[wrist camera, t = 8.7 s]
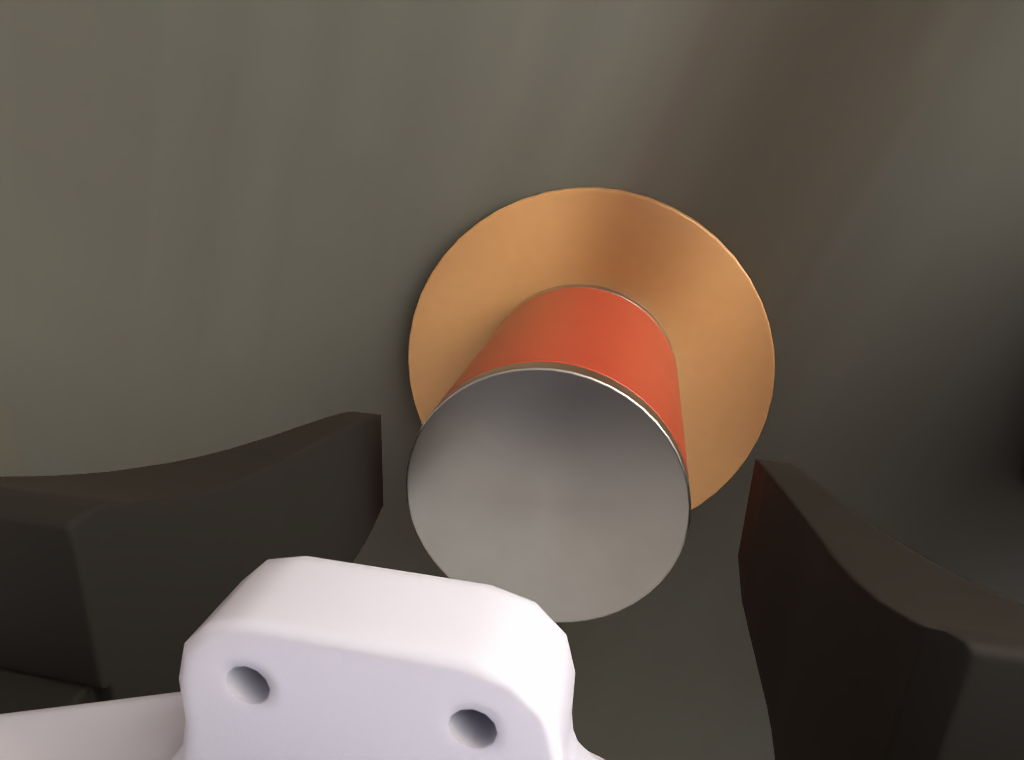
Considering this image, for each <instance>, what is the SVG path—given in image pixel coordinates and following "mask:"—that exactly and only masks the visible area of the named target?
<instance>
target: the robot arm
mask: <svg viewBox="0 0 1024 760" xmlns="http://www.w3.org/2000/svg"><path fill="white" fill-rule="evenodd" d="M382 507H383V477H382V440H381V415H376V414H368V413H360V412H347V413H341V414H337V415H334V416H330V417H327V418H324V419H321V420H318V421H315V422H312V423H309V424H306V425H303V426H300V427H297V428H294V429H291V430H288V431H285V432H282V433H280V434H277V435H274V436H271V437H267V438H264V439H261V440H258V441H254V442H251V443H248V444H245V445H241V446H238V447H235V448H231V449H228V450H224V451H221V452H217V453H213V454H209V455H205V456H200V457H196V458H191V459H186V460H182V461H177V462H172V463H166V464H160V465H153V466H146V467H139V468H132V469H126V470H119V471H110V472H100V473H89V474H75V475H59V476H30V477H0V760H605V759H603V758H601V757H599V756H597V755H595V754H593V753H591V752H589V751H587V750H586V749H585V748H584V747H583V746H582V745H581V744H580V743H579V742H578V741H577V738H576V736H575V733H574V731H573V723H572V703H573V692H574V681H575V670H574V665H573V661H572V657H571V652H570V648H569V644H568V639H567V635H566V634H565V633H564V632H563V631H562V630H561V629H560V628H559V626H558V625H557V624H556V623H555V622H554V621H553V620H552V619H551V618H550V617H549V616H548V615H547V614H546V613H545V612H544V611H543V610H542V609H541V607H540V606H539V605H538V604H537V603H536V602H534V601H531V600H528V599H526V598H523V597H521V596H518V595H516V594H513V593H511V592H508V591H505V590H503V589H500V588H498V587H495V586H493V585H488V584H482V583H475V582H469V581H463V580H456V579H450V578H444V577H437V576H431V575H425V574H418V573H412V572H406V571H399V570H393V569H386V568H380V567H374V566H367V565H361V564H355V563H352V561H353V560H354V558H355V557H356V556H357V554H358V553H359V551H360V550H361V548H362V547H363V545H364V544H365V542H366V540H367V538H368V536H369V534H370V532H371V530H372V528H373V526H374V524H375V522H376V520H377V518H378V515H379V513H380V511H381V509H382ZM738 559H739V572H740V584H741V595H742V603H743V607H744V612H745V616H746V620H747V625H748V629H749V633H750V638H751V642H752V646H753V650H754V654H755V658H756V662H757V667H758V671H759V675H760V679H761V683H762V687H763V691H764V696H765V700H766V704H767V709H768V714H769V719H770V725H771V730H772V738H773V746H774V754H775V760H1024V605H1021V604H1019V603H1016V602H1014V601H1011V600H1009V599H1007V598H1005V597H1002V596H1000V595H998V594H996V593H994V592H991V591H989V590H987V589H985V588H983V587H980V586H978V585H976V584H974V583H972V582H970V581H967V580H966V579H964V578H962V577H960V576H958V575H956V574H954V573H952V572H950V571H948V570H946V569H944V568H942V567H940V566H939V565H937V564H935V563H933V562H932V561H930V560H928V559H926V558H924V557H923V556H921V555H919V554H917V553H915V552H914V551H912V550H910V549H909V548H907V547H906V546H904V545H902V544H901V543H899V542H898V541H896V540H895V539H893V538H892V537H890V536H889V535H887V534H886V533H884V532H883V531H881V530H880V529H878V528H877V527H875V526H874V525H872V524H871V523H869V522H868V521H867V520H865V519H864V518H863V517H861V516H860V515H858V514H857V513H856V512H854V511H853V510H852V509H850V508H849V507H848V506H846V505H845V504H844V503H843V502H841V501H840V500H839V499H837V498H836V497H835V496H834V495H832V494H831V493H830V492H828V491H827V490H826V489H825V488H823V487H822V486H821V485H820V484H818V483H817V482H816V481H815V480H813V479H812V478H811V477H809V476H808V475H807V474H806V473H804V472H803V471H802V470H800V469H799V468H797V467H796V466H794V465H792V464H790V463H781V462H773V461H764V460H755V465H754V471H753V476H752V482H751V487H750V493H749V499H748V504H747V510H746V515H745V521H744V526H743V532H742V537H741V543H740V549H739V554H738Z"/></svg>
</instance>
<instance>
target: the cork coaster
mask: <svg viewBox="0 0 1024 760" xmlns="http://www.w3.org/2000/svg"><path fill="white" fill-rule="evenodd" d="M570 284H590V285H597V286H602V287H606V288H609V289H613V290H615V291H618V292H620V293H622V294H625V295H626V296H628V297H630V298H632V299H633V300H635V301H637V302H638V303H639V304H640V305H642V306H643V307H644V308H646V309H647V310H648V311H649V312H650V313H651V314H652V315H653V316H654V317H655V318H656V320H657V321H658V322H659V324H660V325H661V326H662V328H663V329H664V331H665V333H666V335H667V336H668V338H669V340H670V343H671V345H672V348H673V350H674V354H675V358H676V363H677V371H678V381H679V390H680V399H681V409H682V418H683V428H684V437H685V447H686V456H687V466H688V475H689V485H690V496H691V510H692V509H694V508H696V507H697V506H699V505H700V504H701V503H703V502H704V501H705V500H707V499H708V498H709V497H711V496H712V495H714V494H715V493H716V492H717V491H718V490H719V489H720V488H721V487H722V486H723V485H724V484H725V483H726V482H727V481H729V480H730V479H731V478H732V476H733V475H734V474H735V473H736V471H737V470H738V469H739V468H740V466H741V465H742V464H743V463H744V461H745V460H746V459H747V457H748V455H749V454H750V452H751V450H752V449H753V447H754V445H755V443H756V442H757V440H758V438H759V435H760V433H761V431H762V428H763V426H764V423H765V421H766V419H767V415H768V411H769V407H770V403H771V399H772V395H773V385H774V376H775V362H774V346H773V340H772V335H771V330H770V324H769V321H768V318H767V315H766V313H765V310H764V307H763V304H762V301H761V299H760V297H759V295H758V293H757V291H756V289H755V287H754V285H753V283H752V281H751V279H750V278H749V276H748V275H747V273H746V272H745V270H744V269H743V268H742V266H741V265H740V263H739V262H738V261H737V259H736V258H735V256H734V255H733V254H732V253H731V252H730V251H729V250H728V249H727V248H726V247H725V245H724V244H723V243H722V242H721V241H720V240H719V239H718V238H717V237H716V236H715V235H713V234H712V233H711V232H710V231H708V230H707V229H706V228H705V227H703V226H702V225H701V224H700V223H698V222H697V221H696V220H694V219H693V218H691V217H689V216H687V215H686V214H684V213H682V212H681V211H679V210H677V209H676V208H674V207H672V206H669V205H667V204H664V203H662V202H660V201H657V200H655V199H653V198H650V197H647V196H643V195H639V194H635V193H632V192H628V191H624V190H616V189H608V188H600V187H585V188H567V189H560V190H554V191H547V192H544V193H541V194H537V195H534V196H530V197H527V198H524V199H521V200H519V201H517V202H515V203H512V204H510V205H508V206H506V207H503V208H501V209H499V210H498V211H496V212H494V213H493V214H491V215H489V216H488V217H486V218H485V219H483V220H481V221H480V222H478V223H477V224H476V225H475V226H473V227H472V228H471V229H470V230H469V231H467V232H466V233H465V234H464V235H462V236H461V237H460V238H459V239H458V240H457V241H456V242H455V243H454V245H453V246H452V247H451V248H450V249H449V250H448V251H447V252H446V253H445V254H444V256H443V257H442V259H441V260H440V261H439V263H438V264H437V266H436V267H435V269H434V270H433V272H432V273H431V275H430V277H429V279H428V281H427V283H426V285H425V287H424V289H423V291H422V293H421V295H420V298H419V301H418V304H417V307H416V310H415V313H414V316H413V321H412V326H411V331H410V337H409V353H408V363H409V376H410V384H411V389H412V393H413V398H414V403H415V405H416V408H417V411H418V414H419V417H420V420H421V423H422V425H423V424H424V422H425V421H426V420H427V418H428V417H429V416H430V414H431V413H432V412H433V410H434V409H435V408H436V406H437V405H438V404H439V403H440V401H441V400H442V399H443V398H444V396H445V395H446V394H447V392H448V391H449V390H450V389H451V387H452V386H453V385H454V384H455V382H456V381H457V380H458V378H459V377H460V376H461V375H462V373H463V372H464V371H465V370H466V368H467V367H468V366H469V364H470V363H471V362H472V361H473V359H474V358H475V357H476V356H477V354H478V353H479V352H480V350H481V349H482V348H483V347H484V345H485V344H486V343H487V342H488V340H489V339H490V338H491V336H492V335H493V334H494V333H495V331H496V330H497V329H498V328H499V326H500V325H501V324H502V322H503V321H504V320H505V319H506V317H507V316H508V315H509V314H510V313H511V312H512V311H513V310H514V309H515V308H516V307H517V306H518V305H520V304H521V303H522V302H524V301H525V300H526V299H528V298H530V297H532V296H533V295H535V294H537V293H539V292H542V291H544V290H547V289H549V288H553V287H557V286H561V285H570Z"/></svg>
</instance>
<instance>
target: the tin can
mask: <svg viewBox="0 0 1024 760" xmlns="http://www.w3.org/2000/svg"><path fill="white" fill-rule="evenodd" d="M406 491H407V502H408V506H409V511H410V515H411V519H412V522H413V524H414V527H415V530H416V533H417V535H418V537H419V539H420V540H421V542H422V544H423V546H424V548H425V550H426V551H427V552H428V554H429V555H430V557H431V558H432V560H433V561H434V562H435V564H436V565H437V566H438V567H439V568H440V569H441V571H442V572H443V573H444V574H445V575H446V576H447V577H448V578H450V579H456V580H463V581H469V582H475V583H482V584H488V585H493V586H495V587H498V588H500V589H503V590H505V591H508V592H511V593H513V594H516V595H518V596H521V597H523V598H526V599H528V600H531V601H534V602H536V603H537V604H538V605H539V606H540V607H541V609H542V610H543V611H544V612H545V613H546V614H547V615H548V616H549V617H550V618H551V619H552V620H553V621H554V622H555V623H572V622H581V621H588V620H593V619H597V618H601V617H605V616H608V615H610V614H613V613H616V612H618V611H621V610H623V609H625V608H627V607H628V606H630V605H632V604H634V603H636V602H637V601H639V600H640V599H642V598H643V597H644V596H646V595H647V594H649V593H650V592H651V591H652V590H653V589H654V588H655V587H656V586H657V585H658V584H659V583H660V582H661V581H662V580H663V579H664V578H665V576H666V575H667V574H668V573H669V571H670V570H671V569H672V567H673V566H674V564H675V562H676V561H677V559H678V557H679V555H680V553H681V551H682V548H683V546H684V543H685V541H686V538H687V534H688V529H689V525H690V516H691V496H690V485H689V475H688V466H687V456H686V447H685V437H684V428H683V418H682V409H681V399H680V390H679V381H678V371H677V363H676V358H675V354H674V350H673V348H672V345H671V343H670V340H669V338H668V336H667V335H666V333H665V331H664V329H663V328H662V326H661V325H660V324H659V322H658V321H657V320H656V318H655V317H654V316H653V315H652V314H651V313H650V312H649V311H648V310H647V309H646V308H644V307H643V306H642V305H640V304H639V303H638V302H637V301H635V300H633V299H632V298H630V297H628V296H626V295H625V294H622V293H620V292H618V291H615V290H613V289H609V288H606V287H602V286H597V285H590V284H570V285H561V286H557V287H553V288H549V289H547V290H544V291H542V292H539V293H537V294H535V295H533V296H532V297H530V298H528V299H526V300H525V301H524V302H522V303H521V304H520V305H518V306H517V307H516V308H515V309H514V310H513V311H512V312H511V313H510V314H509V315H508V316H507V317H506V319H505V320H504V321H503V322H502V324H501V325H500V326H499V328H498V329H497V330H496V331H495V333H494V334H493V335H492V336H491V338H490V339H489V340H488V342H487V343H486V344H485V345H484V347H483V348H482V349H481V350H480V352H479V353H478V354H477V356H476V357H475V358H474V359H473V361H472V362H471V363H470V364H469V366H468V367H467V368H466V370H465V371H464V372H463V373H462V375H461V376H460V377H459V378H458V380H457V381H456V382H455V384H454V385H453V386H452V387H451V389H450V390H449V391H448V392H447V394H446V395H445V396H444V398H443V399H442V400H441V401H440V403H439V404H438V405H437V406H436V408H435V409H434V410H433V412H432V413H431V414H430V416H429V417H428V418H427V420H426V421H425V422H424V424H423V425H422V427H421V429H420V431H419V433H418V435H417V436H416V438H415V441H414V444H413V447H412V449H411V452H410V456H409V461H408V466H407V477H406Z"/></svg>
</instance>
